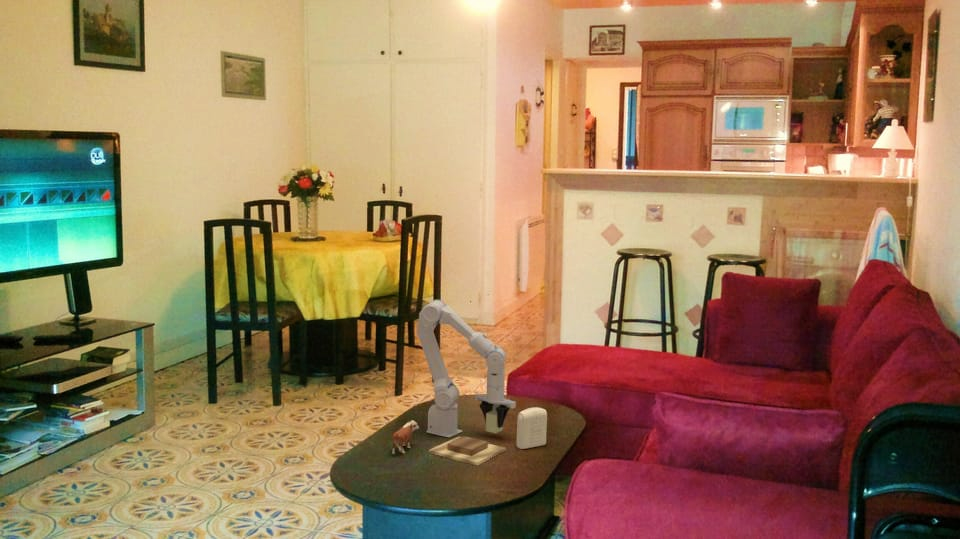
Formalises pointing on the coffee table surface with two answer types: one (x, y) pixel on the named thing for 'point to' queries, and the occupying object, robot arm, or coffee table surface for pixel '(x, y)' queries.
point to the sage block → (492, 422)
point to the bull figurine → (404, 436)
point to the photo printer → (531, 428)
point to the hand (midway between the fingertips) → (494, 425)
